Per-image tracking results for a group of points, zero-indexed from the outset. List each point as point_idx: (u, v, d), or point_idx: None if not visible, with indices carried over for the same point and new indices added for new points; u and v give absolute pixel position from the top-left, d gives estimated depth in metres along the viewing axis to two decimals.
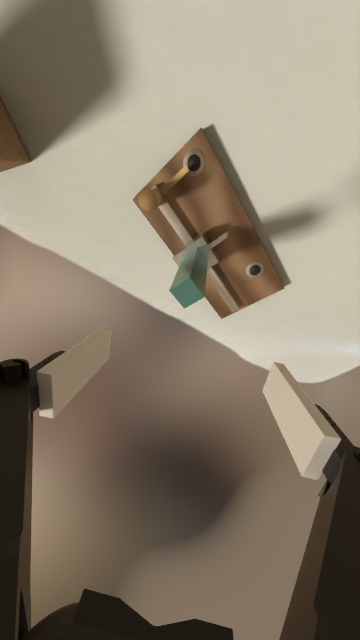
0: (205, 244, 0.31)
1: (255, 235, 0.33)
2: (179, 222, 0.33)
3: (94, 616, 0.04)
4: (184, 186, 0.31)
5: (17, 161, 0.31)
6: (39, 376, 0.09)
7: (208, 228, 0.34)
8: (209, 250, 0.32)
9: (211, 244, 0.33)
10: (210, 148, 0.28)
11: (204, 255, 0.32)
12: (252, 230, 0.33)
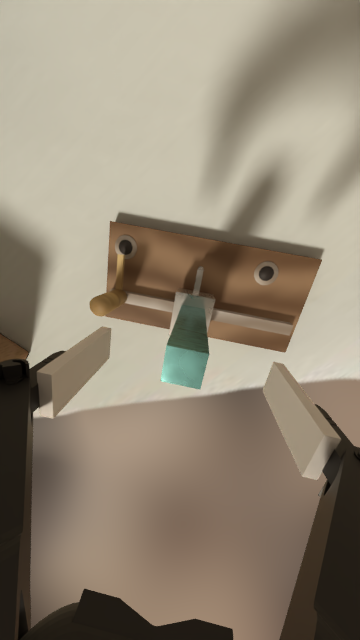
0: (186, 295, 0.24)
1: (231, 245, 0.26)
2: (152, 299, 0.29)
3: (94, 616, 0.04)
4: (133, 269, 0.29)
5: None
6: (39, 376, 0.09)
7: (182, 280, 0.28)
8: (196, 297, 0.24)
9: (195, 290, 0.26)
10: (128, 226, 0.27)
11: (195, 305, 0.25)
12: (223, 244, 0.26)
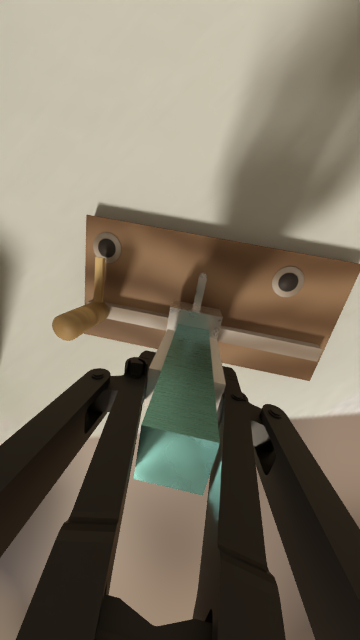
0: (184, 311, 0.18)
1: (242, 245, 0.20)
2: (141, 313, 0.22)
3: None
4: (117, 276, 0.23)
5: None
6: (150, 372, 0.11)
7: (179, 290, 0.22)
8: (196, 314, 0.18)
9: (195, 304, 0.20)
10: (109, 220, 0.21)
11: (195, 325, 0.19)
12: (233, 244, 0.20)
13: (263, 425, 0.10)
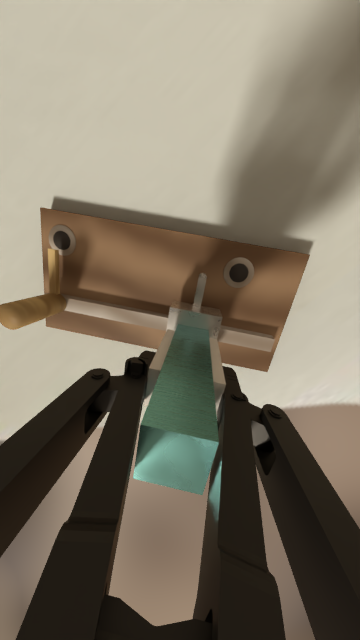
0: (183, 311, 0.18)
1: (192, 236, 0.20)
2: (97, 305, 0.23)
3: None
4: (74, 268, 0.23)
5: None
6: (150, 372, 0.11)
7: (135, 282, 0.23)
8: (196, 314, 0.18)
9: (195, 304, 0.20)
10: (63, 213, 0.21)
11: (195, 325, 0.19)
12: (183, 235, 0.21)
13: (263, 425, 0.09)
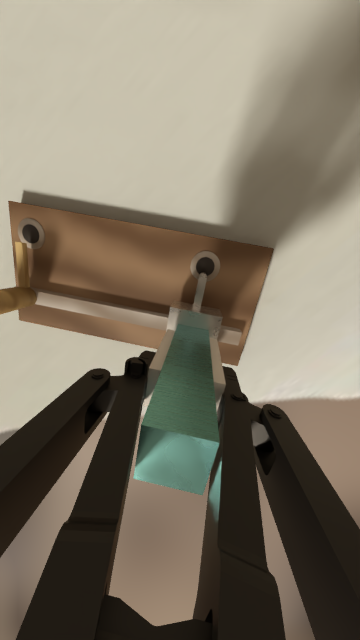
0: (184, 311, 0.18)
1: (158, 230, 0.21)
2: (67, 299, 0.23)
3: None
4: (44, 262, 0.23)
5: None
6: (150, 372, 0.11)
7: (104, 276, 0.23)
8: (196, 314, 0.18)
9: (195, 304, 0.20)
10: (31, 206, 0.21)
11: (195, 325, 0.19)
12: (149, 229, 0.21)
13: (263, 425, 0.10)
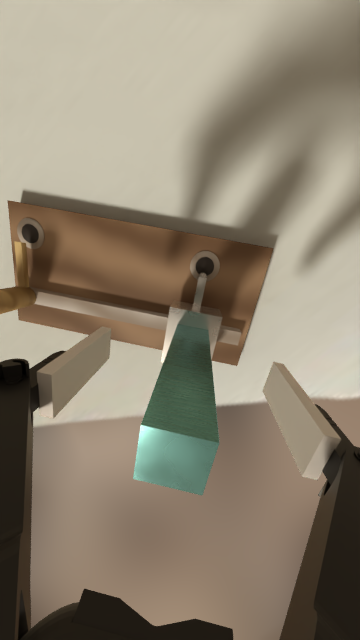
0: (183, 311, 0.18)
1: (158, 230, 0.21)
2: (66, 298, 0.23)
3: (94, 616, 0.04)
4: (44, 261, 0.23)
5: None
6: (39, 376, 0.09)
7: (104, 276, 0.23)
8: (196, 314, 0.18)
9: (195, 304, 0.20)
10: (30, 206, 0.21)
11: (195, 325, 0.19)
12: (148, 229, 0.21)
13: None
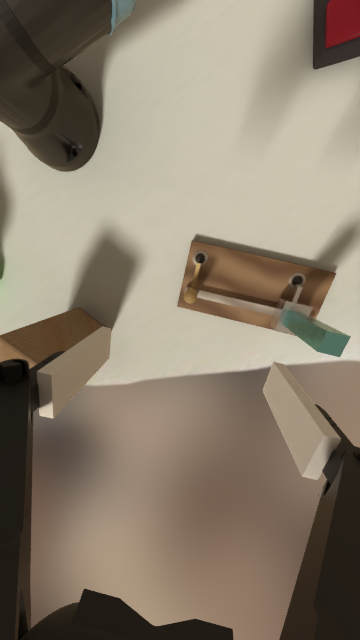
0: (292, 303, 0.36)
1: (274, 260, 0.39)
2: (215, 295, 0.41)
3: (94, 616, 0.04)
4: (203, 273, 0.41)
5: None
6: (39, 376, 0.09)
7: (237, 283, 0.41)
8: (299, 305, 0.36)
9: (294, 300, 0.38)
10: (204, 244, 0.39)
11: (298, 311, 0.36)
12: (269, 259, 0.39)
13: None
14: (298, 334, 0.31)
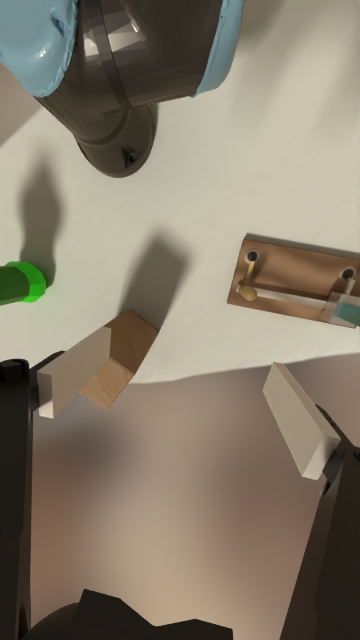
0: (348, 296, 0.38)
1: (325, 255, 0.40)
2: (267, 291, 0.42)
3: (94, 616, 0.04)
4: (254, 271, 0.42)
5: (156, 336, 0.48)
6: (39, 376, 0.09)
7: (288, 278, 0.42)
8: (354, 297, 0.38)
9: (346, 293, 0.40)
10: (256, 242, 0.41)
11: (352, 303, 0.38)
12: (320, 254, 0.40)
13: None
14: None
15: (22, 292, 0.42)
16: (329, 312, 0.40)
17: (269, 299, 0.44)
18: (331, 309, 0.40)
